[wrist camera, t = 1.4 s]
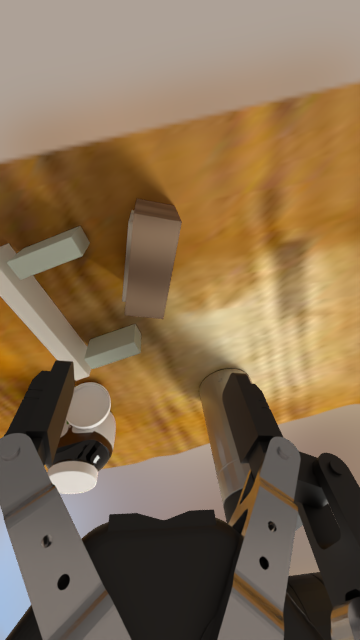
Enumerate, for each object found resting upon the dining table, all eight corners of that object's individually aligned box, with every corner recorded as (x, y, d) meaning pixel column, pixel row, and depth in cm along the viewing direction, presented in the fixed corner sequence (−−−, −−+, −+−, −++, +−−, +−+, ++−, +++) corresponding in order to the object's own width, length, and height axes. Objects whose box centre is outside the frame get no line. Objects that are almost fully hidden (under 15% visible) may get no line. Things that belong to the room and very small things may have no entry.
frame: (160, 288, 32) (163, 319, 27) (125, 283, 32) (120, 314, 26) (174, 205, 27) (181, 221, 21) (132, 197, 26) (128, 212, 20)
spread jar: (72, 429, 47) (54, 501, 38) (35, 393, 41) (1, 469, 31) (132, 412, 46) (129, 482, 37) (104, 372, 40) (90, 444, 30)
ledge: (144, 339, 37) (143, 358, 33) (82, 360, 38) (75, 380, 34) (75, 216, 26) (64, 226, 23) (-8, 249, 28) (-29, 263, 24)
